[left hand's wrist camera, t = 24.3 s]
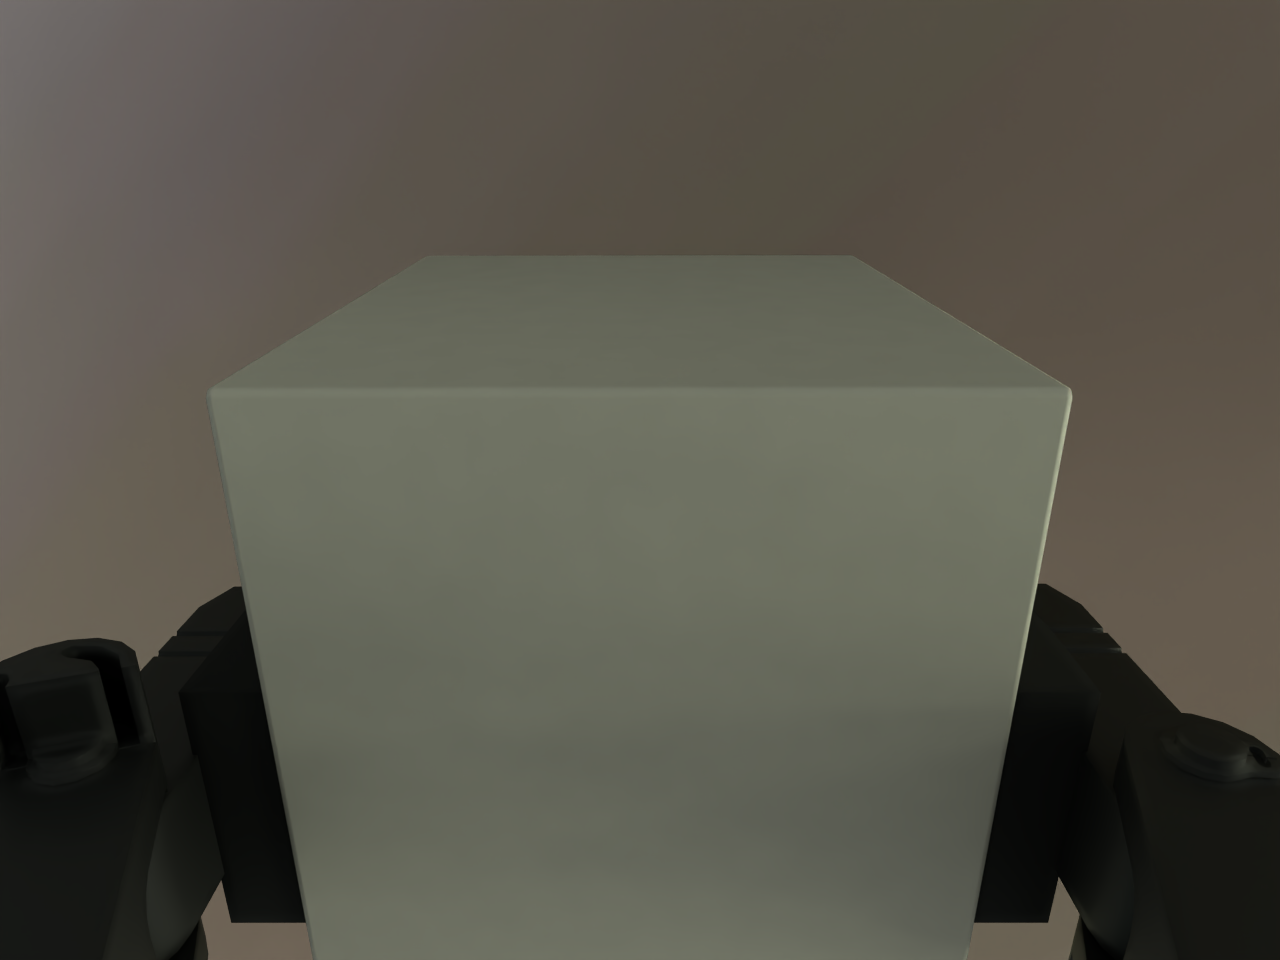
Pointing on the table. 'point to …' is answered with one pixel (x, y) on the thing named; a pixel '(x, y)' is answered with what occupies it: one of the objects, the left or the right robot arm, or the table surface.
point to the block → (639, 606)
